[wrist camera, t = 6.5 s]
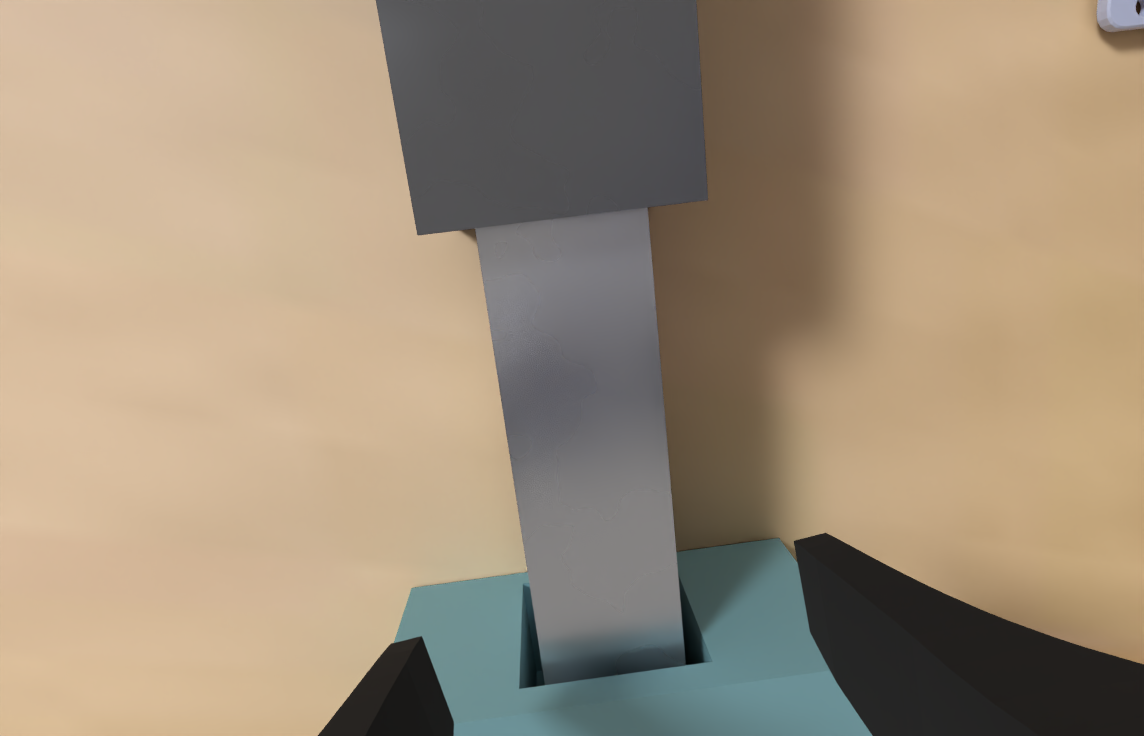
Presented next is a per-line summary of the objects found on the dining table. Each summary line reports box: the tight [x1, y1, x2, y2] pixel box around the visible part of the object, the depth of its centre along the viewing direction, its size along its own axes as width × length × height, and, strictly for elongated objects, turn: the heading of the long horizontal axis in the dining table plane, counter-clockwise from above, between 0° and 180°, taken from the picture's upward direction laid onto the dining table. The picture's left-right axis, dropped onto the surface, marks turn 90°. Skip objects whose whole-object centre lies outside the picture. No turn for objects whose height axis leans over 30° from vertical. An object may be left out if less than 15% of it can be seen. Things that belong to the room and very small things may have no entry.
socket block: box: [394, 538, 872, 736], centre depth 18 cm, size 12×5×6 cm, turn 97°
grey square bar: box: [475, 207, 686, 685], centre depth 16 cm, size 4×18×4 cm, turn 7°
